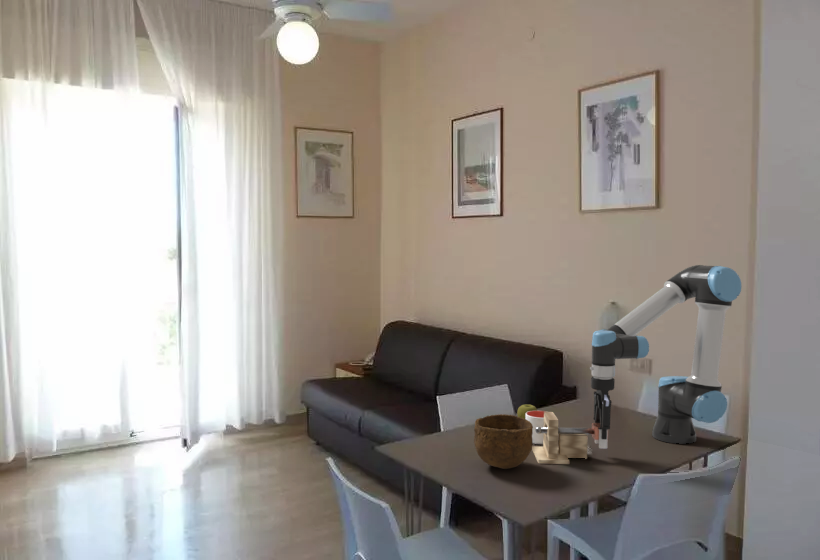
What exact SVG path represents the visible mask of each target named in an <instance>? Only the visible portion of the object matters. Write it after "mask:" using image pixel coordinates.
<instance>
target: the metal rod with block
mask: <svg viewBox="0 0 820 560" xmlns="http://www.w3.org/2000/svg"><path fill="white" fill-rule="evenodd" d="M598 427H600V423H595V422H592V423H591V427H558V435H559V434H586V435H590V436H591V437H592V439H594V441H595V440H599V429H598ZM535 431H536V433H538V434H541V433H547V427H536V429H535Z"/></svg>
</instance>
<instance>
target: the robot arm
mask: <svg viewBox="0 0 820 560" xmlns="http://www.w3.org/2000/svg"><path fill="white" fill-rule="evenodd" d="M741 293H742V280H741V277H740V276H739V274H738V273H737V272H736V271H735V270H734V269H732V268H730V267H727V266H722V265H703V264H696V265H691V266H688V267H687V268H685V269H683V270H681V271H679V272H677V273H676V274H674V275H672V276H671V277H670V278H669V279H668V280H666V281H665V282H664V284H663V287H662V288H660V289H659V290H658V291H657V292H655V293H654V294H652V296H650V297H648V298H647V299H645V300H644V301H643V302H642V303H641V304H639V305H638V306H637V307H635V308H634V309H632V310H631V311H630V312H629V313H627V314H626V315H624V316H623V317H622V318H620V319H619V320H618V321H617V322H616V323H614V324H612V325H611V326H610V327H608V329H605V328H604V329H599V330H595V331H594V332H593V333H592V341H591V366H590V367H589V370H590V371H591V378H590V387H591V388H592V389H593V390H595V391H593V421H594V423H600V427H598V429H599V440H594V444H598V449H602V450H603V449H608V440H609V430H611V412H612V411H611V408H612V407H611V406H612V403H613V402H612V400H611V397H610V395H609V391H613V390H614V389H615V380H616V379H615V378H614V377H616V360H621V359H622V360H624V359H625V360H626V359H627V360H629V359H636V360H637V359H642V358H646V357H647V356H648V354H649V352H650V343H649V341H648V339H647V338H646V337H645V336H643V335H638V334H639V333H640V332H642V331H643V330H644V329H646V328H647V327H648V326H650V325H651V324H652V323H653V322H655V321H656V320H658V319H659V318H660V317H661V316H663V315H664V314H665V313H666V312H668V311H670V310H671V309H672V308H674V307H675V306H676V305H678V304H683V303H685V302H686V301H688V300H690V299H692V298H693V299H694V303H695V305H696V306H697V308H698V311H697V312H698V314H697V321H696V328H695V329H696V331H695V340H694V345H693V348H694V349H693V355H692V356H693V357H692V364H691V374H690V375H689V376H685V375H683V376H681V375H669V376H668V375H667V376H661V377H660V378H659V381H658V386H657V388H658V395H657V396H658V399H657V401H658V402H657V403H658V404H657V417H656V418H655V423H654V425H653V427H652V434H651V435H652V437H653V438H654V439H655V440H657V441H658V440H659V441H661V442H665V443H669V444H670V443H671V444H676V443H679V444H680V445H686V443H689V444H693V442H694V443H696V442H697V433H696V429H695V426H694V422H693V419H694V420H695V421H697V422H703V423H705V424H712V423H716V422H718V421H719V420H720V419H721V418H722V417H724V415H725V413H726V412H727V408H728V400H727V398H726V395H725V394H724V393H723V392H722V389H723V388H722V387H723V386H722V385H723V384H722V383H721V382H720V381H719V374H720V373H719V371H720V363H721V357H722V356H721V355H722V347H723V338H724V330H725V321H726V315H727V314H726V312H727V311H728V310H729V309H731V308H732V305H733V304H732V303H733V301H735V300H736V299H737V298H738V297H739V296H740V294H741ZM679 444H678V445H679Z"/></svg>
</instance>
